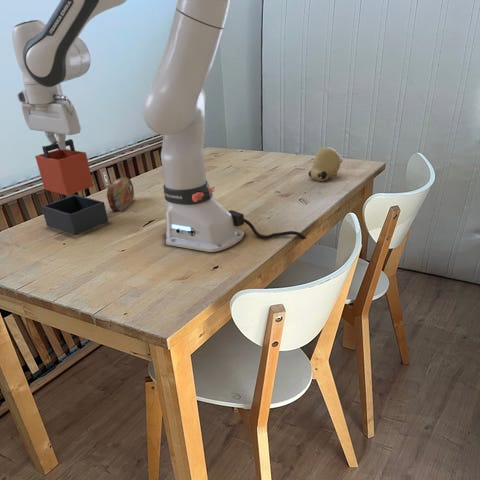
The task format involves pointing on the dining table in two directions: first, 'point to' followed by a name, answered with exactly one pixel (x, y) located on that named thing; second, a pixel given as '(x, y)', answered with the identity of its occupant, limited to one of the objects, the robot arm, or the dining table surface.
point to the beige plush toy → (325, 164)
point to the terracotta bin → (64, 169)
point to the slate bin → (75, 214)
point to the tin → (120, 193)
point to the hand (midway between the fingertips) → (59, 148)
